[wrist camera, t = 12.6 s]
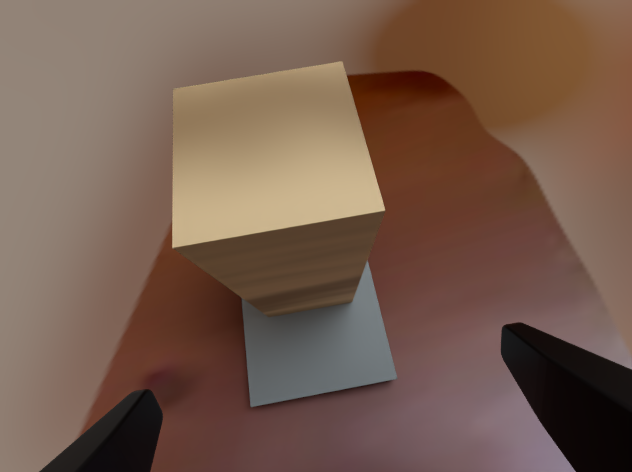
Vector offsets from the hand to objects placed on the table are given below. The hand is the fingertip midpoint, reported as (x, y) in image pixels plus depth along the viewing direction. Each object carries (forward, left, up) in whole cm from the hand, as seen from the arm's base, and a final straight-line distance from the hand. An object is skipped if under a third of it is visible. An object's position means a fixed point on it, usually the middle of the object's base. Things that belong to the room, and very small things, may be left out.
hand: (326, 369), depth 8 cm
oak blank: (+6, 0, -10) cm, 11 cm away
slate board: (+6, 0, -11) cm, 13 cm away
